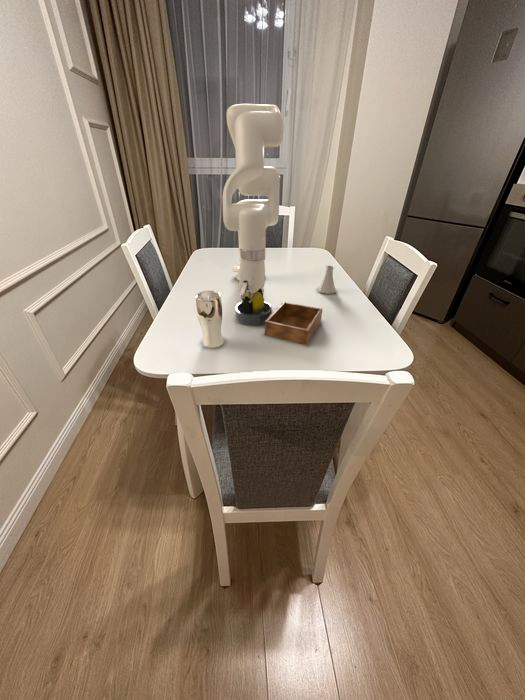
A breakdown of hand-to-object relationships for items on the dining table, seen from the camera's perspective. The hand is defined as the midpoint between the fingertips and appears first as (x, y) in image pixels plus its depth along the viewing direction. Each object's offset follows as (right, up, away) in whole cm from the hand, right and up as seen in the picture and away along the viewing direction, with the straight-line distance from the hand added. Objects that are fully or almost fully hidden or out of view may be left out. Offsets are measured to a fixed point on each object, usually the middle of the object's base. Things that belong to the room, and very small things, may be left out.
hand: (253, 307), depth 95 cm
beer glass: (-12, -12, -11) cm, 20 cm away
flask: (+29, +10, +22) cm, 38 cm away
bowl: (0, -3, +2) cm, 4 cm away
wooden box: (+13, -7, -4) cm, 15 cm away
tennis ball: (0, -1, +1) cm, 2 cm away
